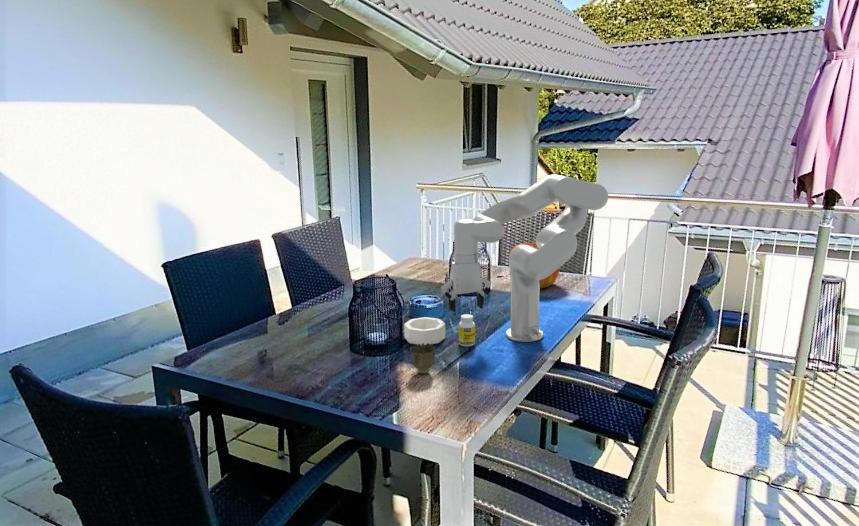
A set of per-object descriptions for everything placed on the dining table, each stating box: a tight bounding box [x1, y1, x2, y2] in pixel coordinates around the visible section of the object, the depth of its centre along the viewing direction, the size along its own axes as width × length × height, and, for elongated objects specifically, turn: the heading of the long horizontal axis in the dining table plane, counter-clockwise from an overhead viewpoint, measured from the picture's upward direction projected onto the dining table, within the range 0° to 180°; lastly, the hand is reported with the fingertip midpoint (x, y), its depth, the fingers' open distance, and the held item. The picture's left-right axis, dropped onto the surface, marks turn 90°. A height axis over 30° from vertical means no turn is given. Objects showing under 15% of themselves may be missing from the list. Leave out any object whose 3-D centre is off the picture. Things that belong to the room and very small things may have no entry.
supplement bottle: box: [458, 313, 476, 347], centre depth 196 cm, size 5×5×10 cm
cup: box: [409, 343, 436, 375], centre depth 174 cm, size 8×7×8 cm
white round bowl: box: [403, 316, 446, 345], centre depth 203 cm, size 13×13×5 cm
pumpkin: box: [508, 241, 560, 289], centre depth 260 cm, size 23×23×20 cm
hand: (466, 308), depth 194 cm, fingers open, 9 cm apart
